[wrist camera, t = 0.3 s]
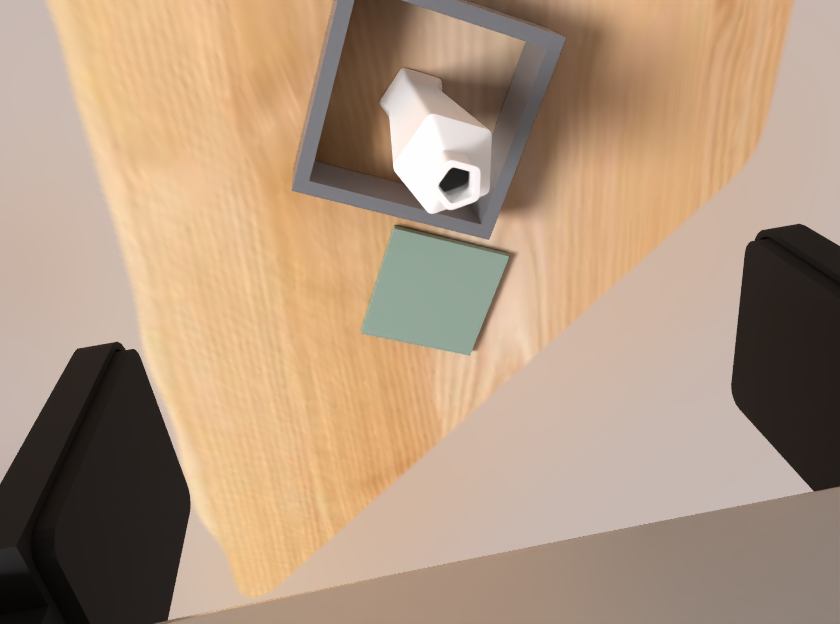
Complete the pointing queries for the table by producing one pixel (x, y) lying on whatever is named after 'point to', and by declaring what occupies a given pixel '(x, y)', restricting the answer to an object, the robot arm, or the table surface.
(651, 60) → the table surface
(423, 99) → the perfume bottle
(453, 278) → the mat
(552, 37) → the bin
